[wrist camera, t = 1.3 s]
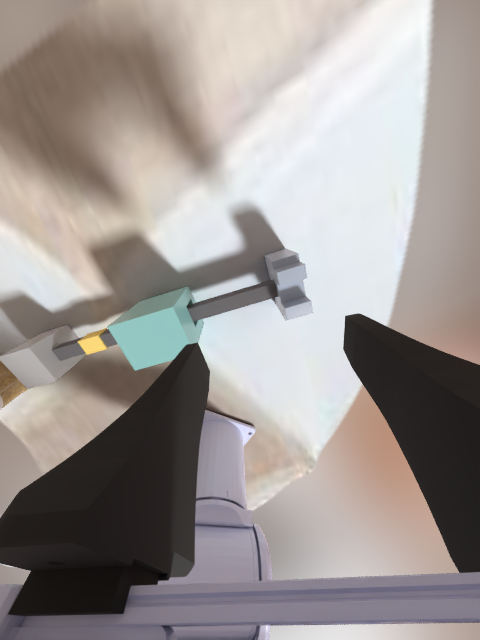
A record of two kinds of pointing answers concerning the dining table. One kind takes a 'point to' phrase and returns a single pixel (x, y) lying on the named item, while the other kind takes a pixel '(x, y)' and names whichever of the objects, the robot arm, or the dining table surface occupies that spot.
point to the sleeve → (157, 328)
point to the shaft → (196, 310)
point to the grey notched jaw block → (289, 283)
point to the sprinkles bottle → (9, 386)
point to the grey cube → (41, 358)
